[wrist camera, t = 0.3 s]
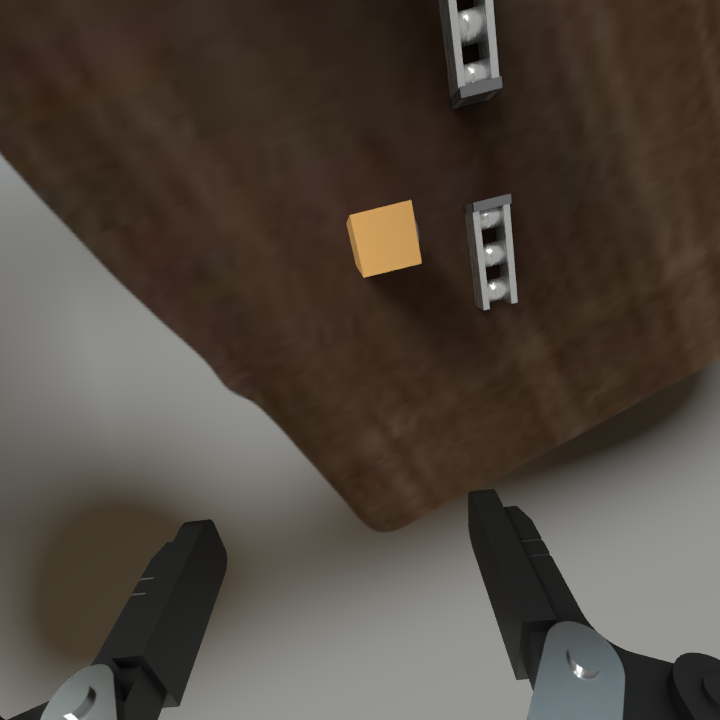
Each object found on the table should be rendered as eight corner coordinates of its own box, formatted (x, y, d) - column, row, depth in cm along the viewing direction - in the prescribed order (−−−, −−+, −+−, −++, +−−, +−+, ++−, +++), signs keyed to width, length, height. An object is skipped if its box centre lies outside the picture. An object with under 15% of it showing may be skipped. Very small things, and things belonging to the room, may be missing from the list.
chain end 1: (433, -37, 28) (443, -64, 25) (476, -48, 28) (489, -76, 25) (451, 109, 31) (461, 98, 29) (489, 99, 31) (502, 87, 29)
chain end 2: (463, 205, 34) (473, 202, 31) (498, 196, 34) (510, 193, 31) (475, 306, 37) (485, 311, 35) (507, 298, 37) (519, 302, 34)
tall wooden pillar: (346, 222, 34) (349, 215, 22) (393, 211, 34) (420, 197, 22) (356, 264, 35) (363, 277, 24) (401, 253, 35) (430, 261, 24)
